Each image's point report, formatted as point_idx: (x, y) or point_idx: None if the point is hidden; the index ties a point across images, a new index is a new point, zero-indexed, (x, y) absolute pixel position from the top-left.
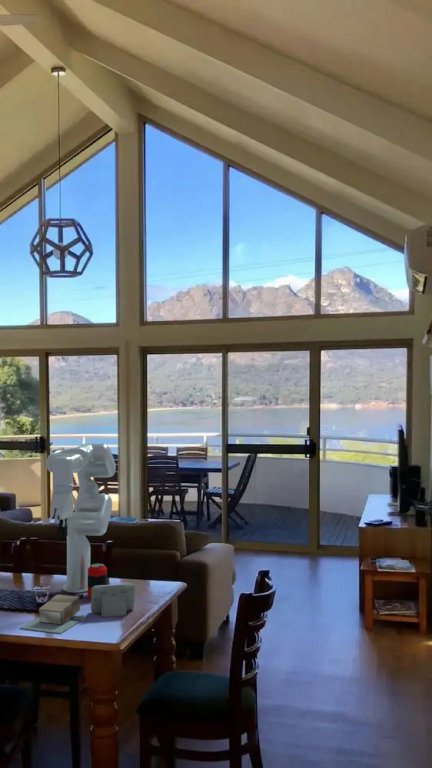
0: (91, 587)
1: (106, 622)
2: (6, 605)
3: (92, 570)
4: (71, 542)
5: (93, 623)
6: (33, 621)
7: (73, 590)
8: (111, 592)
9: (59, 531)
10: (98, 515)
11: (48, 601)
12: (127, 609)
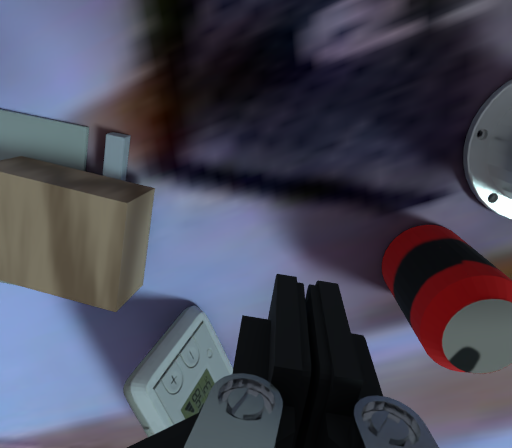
0: (397, 269)
1: (103, 375)
2: None
3: (427, 315)
4: None
5: (82, 340)
6: (24, 124)
7: (468, 148)
8: None
9: (237, 346)
10: None
11: (49, 185)
12: None
